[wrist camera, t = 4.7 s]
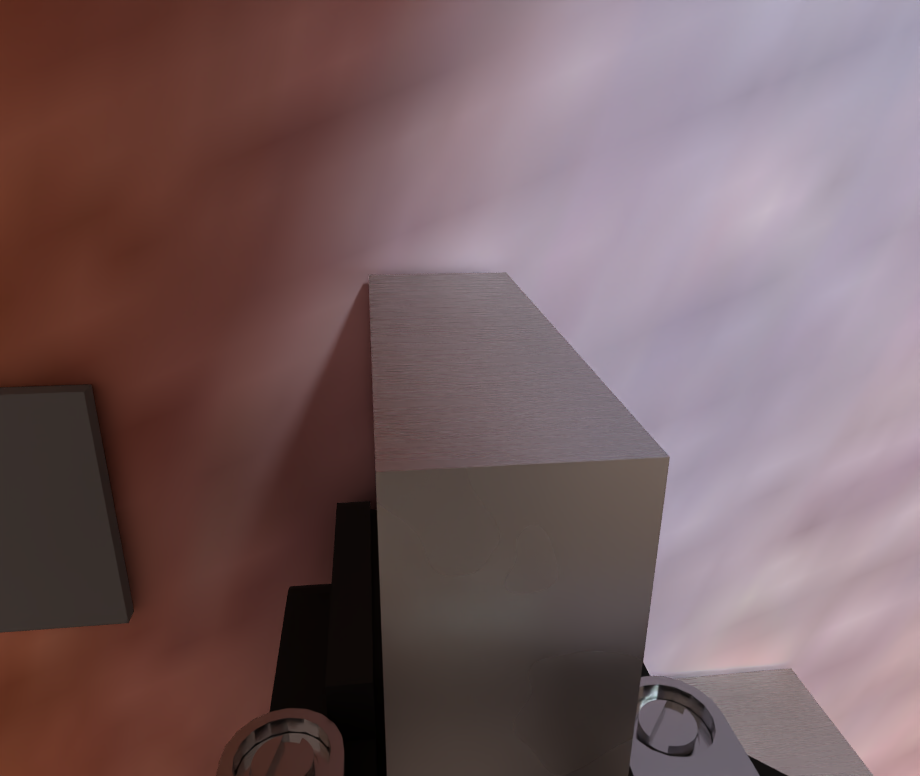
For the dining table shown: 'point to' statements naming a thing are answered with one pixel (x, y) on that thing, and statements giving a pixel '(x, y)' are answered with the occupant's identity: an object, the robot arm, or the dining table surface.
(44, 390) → the pose mat
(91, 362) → the dining table surface
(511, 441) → the angle bracket
